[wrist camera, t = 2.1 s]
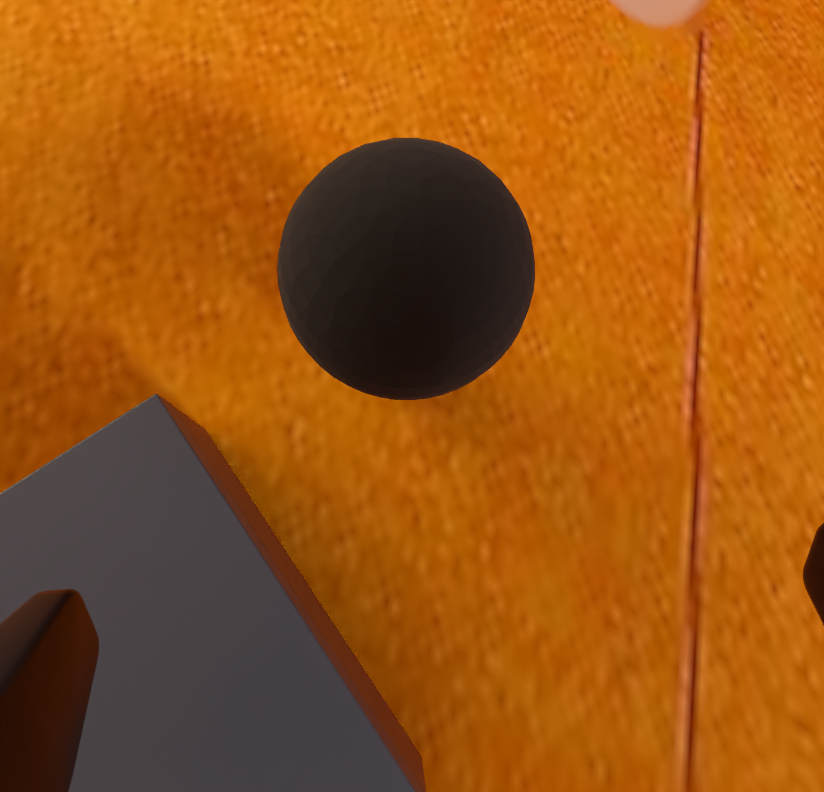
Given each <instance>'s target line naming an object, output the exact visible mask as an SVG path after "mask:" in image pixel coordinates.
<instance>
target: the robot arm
mask: <svg viewBox="0 0 824 792" xmlns="http://www.w3.org/2000/svg"><path fill="white" fill-rule="evenodd" d="M803 580H804V584H805V588H806V590H807V592H808V594H809V596H810V599H811V601H812V603H813V605H814V607H815V609H816V611H817V613H818V615H819V617H820V619H821V621H822V623H823V625H824V523H823V524H822V525H821V526H820V527H819V528H818V530H817V532H816V535H815V537H814V540H813V543H812V546H811V549H810V551H809V554H808V557H807V560H806V563H805V565H804V569H803ZM98 655H99V638H98V634H97V631H96V629H95V627H94V624H93V622H92V619H91V617H90V615H89V612H88V610H87V608H86V605H85V603H84V601H83V598H82V596H81V595H80V593H79V592H78V591H76V590H74V589H61V590H50V591H42V592H39V593H37V594H35V595H34V596H33V597H31V598H30V599H29V600H28V601H26V602H25V603H24V604H23V605H22V606H20V607H19V608H18V609H17V610H16V611H15V612H13V613H12V614H11V615H10V616H9V617H7V618H6V619H5V620H4V621H3V622H1V623H0V792H68V791H69V788H70V784H71V780H72V776H73V772H74V768H75V763H76V759H77V754H78V749H79V745H80V740H81V735H82V731H83V726H84V721H85V716H86V712H87V707H88V702H89V698H90V693H91V688H92V684H93V679H94V674H95V670H96V665H97V660H98Z"/></svg>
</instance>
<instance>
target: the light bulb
mask: <svg viewBox="0 0 824 792" xmlns="http://www.w3.org/2000/svg"><path fill="white" fill-rule="evenodd" d="M277 271H278V285H279V290H280V294H281V299H282V303H283V306H284V310H285V313H286V315H287V318H288V321H289V324H290V326H291V328H292V330H293V332H294V333H295V335H296V337H297V339H298V340H299V342H300V343H301V345H302V346H303V347H304V349H305V350H306V351H307V353H308V354H309V355H310V356H311V357H312V358H313V359H314V360H315V361H316V362H317V363H318V364H319V366H320V367H322V368H323V369H324V370H325V371H327V372H328V373H329V374H330V375H332V376H333V377H334V378H336V379H338V380H339V381H341V382H343V383H345V384H346V385H348V386H350V387H352V388H354V389H357V390H359V391H361V392H364V393H367V394H370V395H374V396H377V397H382V398H388V399H395V400H416V399H426V398H431V397H435V396H439V395H443V394H446V393H449V392H451V391H454V390H457V389H459V388H461V387H463V386H464V385H466V384H468V383H470V382H472V381H473V380H474V379H476V378H477V377H479V376H480V375H481V374H483V373H484V372H485V371H487V370H488V369H490V368H491V367H492V366H493V365H494V364H495V363H496V362H497V361H498V360H499V359H500V358H501V357H502V356H503V355H504V354H505V352H506V351H507V350H508V349H509V347H510V346H511V345H512V343H513V342H514V340H515V338H516V337H517V335H518V333H519V331H520V329H521V327H522V324H523V322H524V320H525V317H526V314H527V312H528V309H529V306H530V302H531V298H532V295H533V290H534V281H535V260H534V253H533V246H532V240H531V234H530V231H529V228H528V225H527V222H526V219H525V217H524V215H523V213H522V211H521V209H520V206H519V205H518V203H517V202H516V200H515V199H514V197H513V196H512V194H511V193H510V191H509V190H508V189H507V187H506V186H505V185H504V184H503V182H502V181H501V180H500V179H499V178H498V177H497V176H496V175H495V174H494V173H493V172H492V171H490V170H489V169H488V168H487V167H486V166H485V165H484V164H483V163H482V162H481V161H479V160H478V159H476V158H474V157H472V156H470V155H468V154H466V153H465V152H463V151H461V150H459V149H457V148H454V147H452V146H449V145H446V144H444V143H441V142H437V141H431V140H425V139H419V138H393V139H388V140H383V141H378V142H373V143H368V144H364V145H362V146H360V147H358V148H356V149H353V150H351V151H349V152H347V153H345V154H343V155H341V156H339V157H338V158H336V159H335V160H334V161H333V162H331V163H330V164H329V165H327V166H326V167H325V168H323V169H322V170H321V172H320V173H319V174H318V175H317V176H316V177H315V178H314V179H313V180H312V181H311V182H310V183H309V184H308V185H307V186H306V188H305V189H304V190H303V192H302V193H301V194H300V196H299V197H298V198H297V200H296V202H295V204H294V205H293V207H292V209H291V211H290V213H289V216H288V218H287V221H286V224H285V226H284V231H283V235H282V239H281V244H280V249H279V254H278V267H277Z"/></svg>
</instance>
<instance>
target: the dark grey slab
mask: <svg viewBox="0 0 824 792" xmlns="http://www.w3.org/2000/svg"><path fill="white" fill-rule="evenodd" d="M61 589H74V590H76V591H78V592H79V593H80V595H81V596H82V598H83V601H84V603H85V605H86V608H87V610H88V612H89V615H90V617H91V619H92V622H93V624H94V627H95V629H96V631H97V634H98V638H99V655H98V660H97V665H96V670H95V674H94V679H93V684H92V688H91V693H90V698H89V702H88V707H87V712H86V716H85V721H84V726H83V731H82V735H81V740H80V745H79V749H78V754H77V759H76V763H75V768H74V772H73V776H72V780H71V784H70V788H69V791H68V792H426V788H425V780H424V773H423V766H422V759H421V756H420V754H419V752H418V751H417V749H416V748H415V746H414V745H413V743H412V742H411V740H410V739H409V737H408V736H407V734H406V733H405V731H404V730H403V728H402V727H401V725H400V724H399V722H398V721H397V719H396V718H395V716H394V715H393V713H392V712H391V710H390V709H389V707H388V706H387V704H386V703H385V701H384V700H383V698H382V696H381V695H380V693H379V692H378V690H377V689H376V687H375V686H374V684H373V683H372V681H371V680H370V678H369V677H368V675H367V674H366V672H365V671H364V669H363V668H362V666H361V665H360V663H359V662H358V660H357V659H356V657H355V656H354V654H353V653H352V651H351V650H350V648H349V647H348V645H347V643H346V642H345V640H344V639H343V637H342V636H341V634H340V633H339V631H338V630H337V628H336V627H335V625H334V624H333V622H332V621H331V619H330V618H329V616H328V615H327V613H326V612H325V610H324V609H323V607H322V606H321V604H320V603H319V601H318V600H317V598H316V597H315V595H314V594H313V592H312V591H311V589H310V587H309V586H308V584H307V583H306V581H305V580H304V578H303V577H302V575H301V574H300V572H299V571H298V569H297V568H296V566H295V565H294V563H293V562H292V560H291V559H290V557H289V556H288V554H287V553H286V551H285V550H284V548H283V547H282V545H281V544H280V542H279V541H278V539H277V538H276V536H275V535H274V533H273V531H272V530H271V528H270V527H269V525H268V524H267V522H266V521H265V519H264V518H263V516H262V515H261V513H260V512H259V510H258V509H257V507H256V506H255V504H254V503H253V501H252V500H251V498H250V497H249V495H248V494H247V492H246V491H245V489H244V488H243V486H242V485H241V483H240V482H239V480H238V478H237V477H236V475H235V474H234V472H233V471H232V469H231V468H230V466H229V465H228V463H227V462H226V460H225V459H224V457H223V456H222V454H221V453H220V451H219V450H218V448H217V447H216V445H215V444H214V442H213V441H212V439H211V438H210V436H209V435H208V433H207V432H206V430H205V429H203V428H202V427H200V426H199V425H198V424H196V423H195V422H194V421H192V420H191V419H190V418H188V417H187V416H186V415H184V414H183V413H181V412H180V411H179V410H177V409H176V408H175V407H173V406H172V405H171V404H170V403H169V402H167V401H166V400H165V399H163V398H162V397H160V396H159V395H158V394H154V395H153V396H151V397H150V398H148V399H147V400H145V401H144V402H142V403H140V404H139V405H137V406H136V407H134V408H133V409H131V410H130V411H128V412H126V413H125V414H123V415H122V416H120V417H119V418H117V419H116V420H114V421H112V422H111V423H109V424H108V425H106V426H105V427H103V428H101V429H100V430H98V431H97V432H95V433H94V434H92V435H91V436H89V437H87V438H86V439H84V440H83V441H81V442H80V443H78V444H77V445H75V446H73V447H72V448H70V449H69V450H67V451H66V452H64V453H63V454H61V455H59V456H58V457H56V458H55V459H53V460H52V461H50V462H48V463H47V464H45V465H44V466H42V467H41V468H39V469H38V470H36V471H34V472H33V473H31V474H30V475H28V476H27V477H25V478H24V479H22V480H20V481H19V482H17V483H16V484H14V485H13V486H11V487H10V488H8V489H6V490H5V491H3V492H2V493H0V623H1V622H3V621H4V620H5V619H6V618H7V617H9V616H10V615H11V614H12V613H13V612H15V611H16V610H17V609H18V608H19V607H20V606H22V605H23V604H24V603H25V602H26V601H28V600H29V599H30V598H31V597H33V596H34V595H35V594H37V593H39V592H42V591H50V590H61Z"/></svg>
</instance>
